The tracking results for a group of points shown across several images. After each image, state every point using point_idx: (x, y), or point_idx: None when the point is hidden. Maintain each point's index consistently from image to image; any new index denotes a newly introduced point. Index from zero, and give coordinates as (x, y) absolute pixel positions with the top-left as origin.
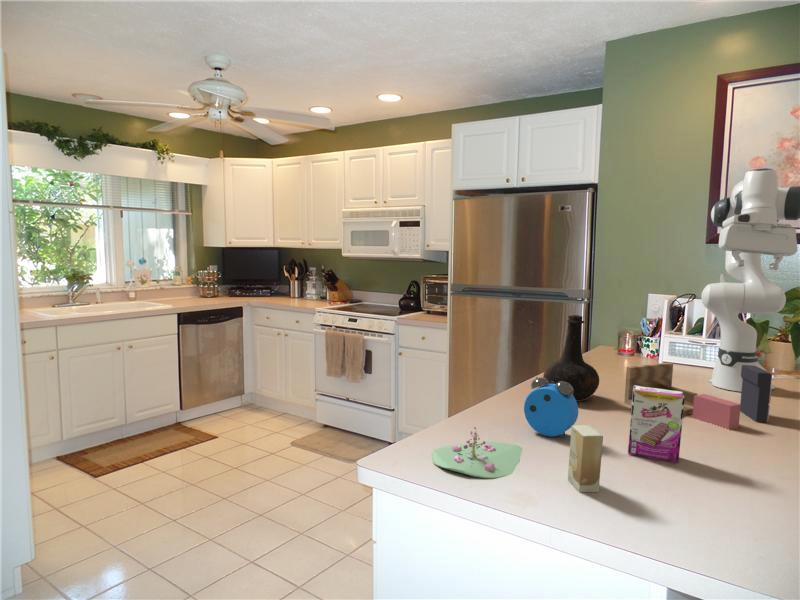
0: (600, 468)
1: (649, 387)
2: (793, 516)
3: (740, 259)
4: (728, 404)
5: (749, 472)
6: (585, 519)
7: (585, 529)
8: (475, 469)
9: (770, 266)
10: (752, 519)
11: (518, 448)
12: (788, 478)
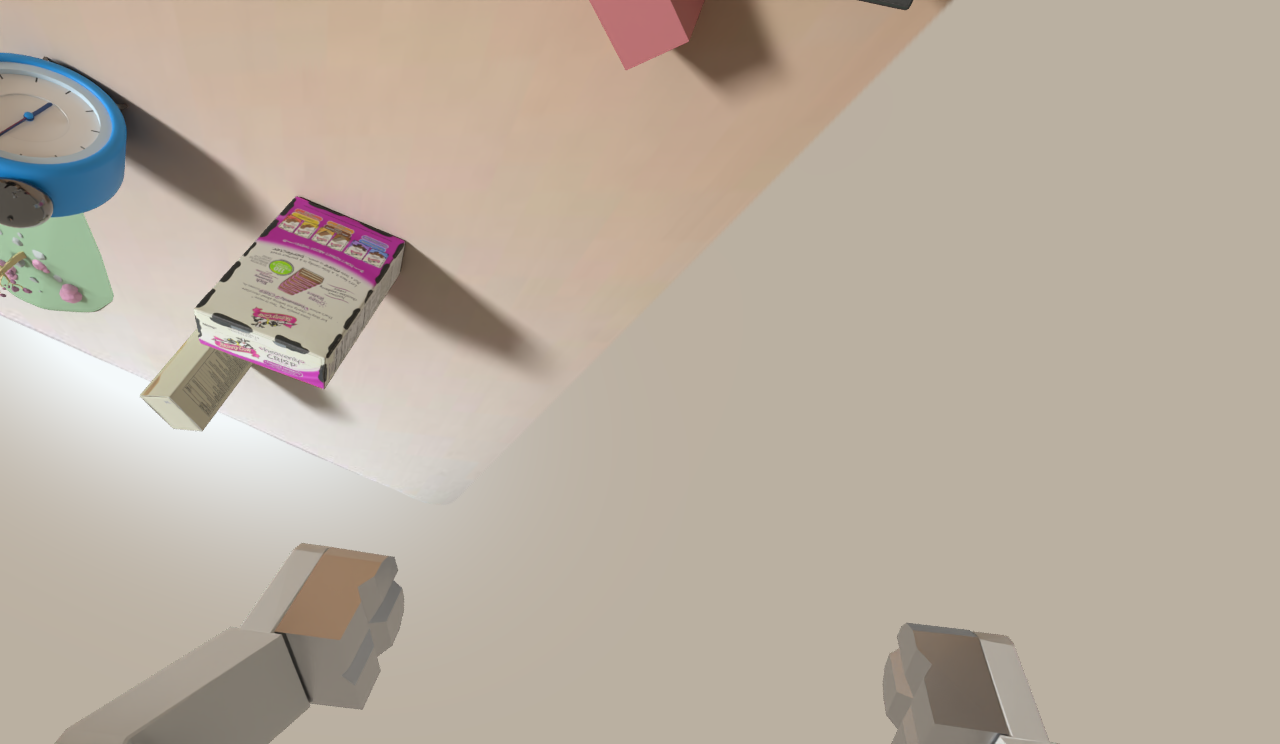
0: (236, 385)
1: (236, 328)
2: (528, 426)
3: (293, 704)
4: (627, 49)
5: (537, 313)
6: (254, 405)
7: (257, 420)
8: (55, 299)
9: (917, 685)
10: (465, 426)
11: None
12: (604, 338)
